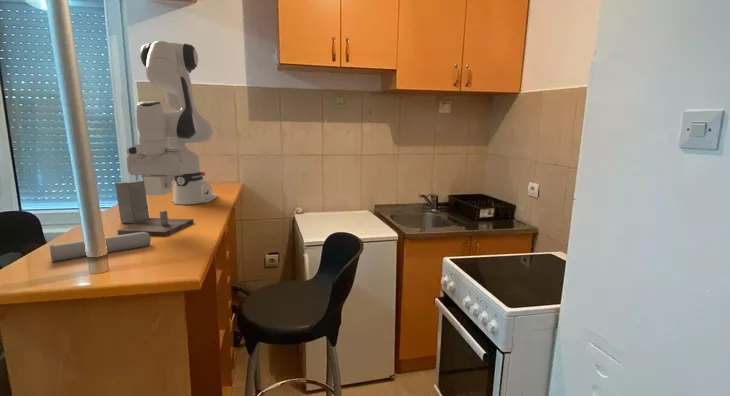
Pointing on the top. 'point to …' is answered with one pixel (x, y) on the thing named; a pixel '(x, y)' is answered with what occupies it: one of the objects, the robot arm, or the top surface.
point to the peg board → (157, 225)
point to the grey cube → (156, 185)
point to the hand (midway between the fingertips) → (158, 187)
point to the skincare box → (132, 201)
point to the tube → (112, 243)
